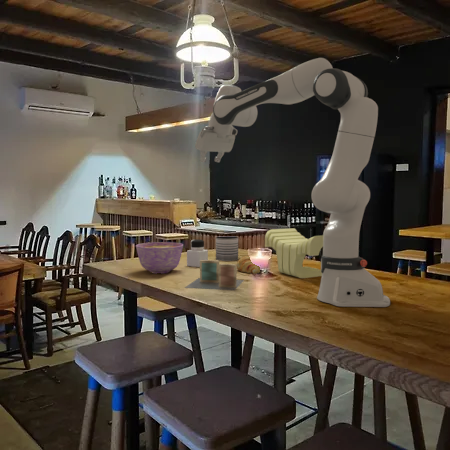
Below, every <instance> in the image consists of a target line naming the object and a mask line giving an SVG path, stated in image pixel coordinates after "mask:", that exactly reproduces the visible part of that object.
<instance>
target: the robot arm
mask: <svg viewBox="0 0 450 450" xmlns="http://www.w3.org/2000/svg"><path fill="white" fill-rule="evenodd" d="M368 91H369V90H368V87H367V85H366V83H365V82H364V81H363V80H362V79H361V78H359V77H357V76H355V75H353V74H352V73H351V72H348V71H345V70H341V69H339V68H333V65H332V64H331V63H330V61H329V60H328V59H327V58H324V57H318V58H313V59H310V60H308V61H305V62H303V63H301V64H297V65H296V66H295V67H292V68H291V69H289V70H287V71H285V72H283V73H281V74H279V75H277V76H274V77H271V78H270V79H268V80H265V81H262V82H260V83H257V84H255V85H253V86H250V87H248V88H246V89H243V90H242V89H241V88H240V87H238V86H236V85H232V84H231V85H230V84H223V85H221V86H220V88H219V89H218V92H217V93H216V96H215V98H214V102H213V110H212V113H211V115H210V118H209V120H208V121H209V122H208V125H207V126H206V125H205V126H203V128H201V131H199V133H198V136H197V139H196V141H195V144H194V148H195V150H197V151H200V152H199V153H200V160H199V161H200V163H206V162H207V160H208V159H207V157H206V155H207V154H208V152H211V153H213V152H215V153H216V152H217V154H216V155H217V156H215V157H214V162H216V163H220V162H221V159H222V157H223V156H224V155H225V153H230V152H231V151H232V149H233V147H234V143H235V142H236V141H235V139H236V136H237V134H238V129H236V128H235V126H236V127H243V128H246V127H252V125H254V124H255V123H256V121H257V119H258V115H259V110H258V107H257V106H259V105H262V104H282V105H293V104H298V103H301V102H303V101H305V100H308V99H310V98H312V97H314V96H315V98H316V99H318V101H320V103H321V104H323V105H324V106H327V107H330V108H331V109H332V110H338V112H339V113H340V122H339V125H338V131H337V133H336V134H337V135H336V139H335V143H334V147H333V152H332V156H331V158H330V160H329V162H328V165H327V167H326V169H325V171H324V173H323V175H322V177H321V178H320V180H319V181H318V182H317V183H315V185H314V186H313V188H312V190H311V202H312V204H313V205H314V207H315V208H316V209H318V210H319V211H321V212H324V213H327V214H330V216H329V219H328V222H327V225H326V226H325V228H324V230H323V234H322V235H323V247H322V255H321V257H320V270H321V272H322V276H320V277H321V278H320V284H319V290H318V294H317V296H316V299H317V300H318V301H320V302H323V303H327V304H331V305H333V306H336V307H345V308H346V307H354V308H356V307H357V308H358V307H359V308H363V307H364V308H365V307H367V308H368V307H369V308H370V307H371V308H373V307H374V308H386V307H389V306H391V299H390V298H389V297H388V296H387V295H385V294H384V290H383V289H384V288H383V285H382V283H381V281H380V280H379V279H378V278H376V277H375V276H374V275H373V274H371V273H370V272H369V271H368V270H367V269H366V268H365V267H366V266H367V265H368V261H367V260H366V259H364V258H363V257H360V256H359V252H360V251H359V250H360V249H359V247H360V246H359V245H360V244H359V243H360V242H359V241H360V231H361V225H362V221H363V217H364V213H365V210H366V207H367V205H368V203H369V201H370V199H371V190H370V188H369V186H368V185H367V184H366V183H364V182H363V181H362V180H359V177H360V176H361V173H362V171H363V170H364V169H365V167H367V165H368V164H369V161H370V157H371V153H372V149H373V144H374V140H375V137H376V131H377V125H378V117H379V106H378V104H377V103H376V101H374V100H373V99H372V98H369V97H368V95H369V92H368Z"/></svg>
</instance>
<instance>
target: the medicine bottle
mask: <svg viewBox="0 0 450 450" xmlns="http://www.w3.org/2000/svg"><path fill="white" fill-rule="evenodd" d="M200 260H209V250H208V249H205V241H204V240H203V239H192V240H191V241H190V249H189V250H187V251H186V266H187V267H192V268H193V267H194V268H200Z"/></svg>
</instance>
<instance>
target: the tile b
mask: <svg viewBox="0 0 450 450" xmlns="http://www.w3.org/2000/svg"><path fill="white" fill-rule="evenodd" d="M237 271H238V269H237V263H236V264H233V263H230V264H229V263H219V287H233V288H236V280H237ZM236 289H237V288H236Z"/></svg>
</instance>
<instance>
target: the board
mask: <svg viewBox="0 0 450 450" xmlns="http://www.w3.org/2000/svg"><path fill="white" fill-rule="evenodd" d="M244 281H245V279H236V288H233V287H219V282H218V283H217V282H200V277H198V278H196V279H195V280H194V281H192V282H191V283H189V284H188V285H187V286H184V288H185V289H200V290H201V289H202V290H218V291H220V290H221V291H236V290H237V288H239V286H240V285H241V284H242V283H243V282H244Z"/></svg>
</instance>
